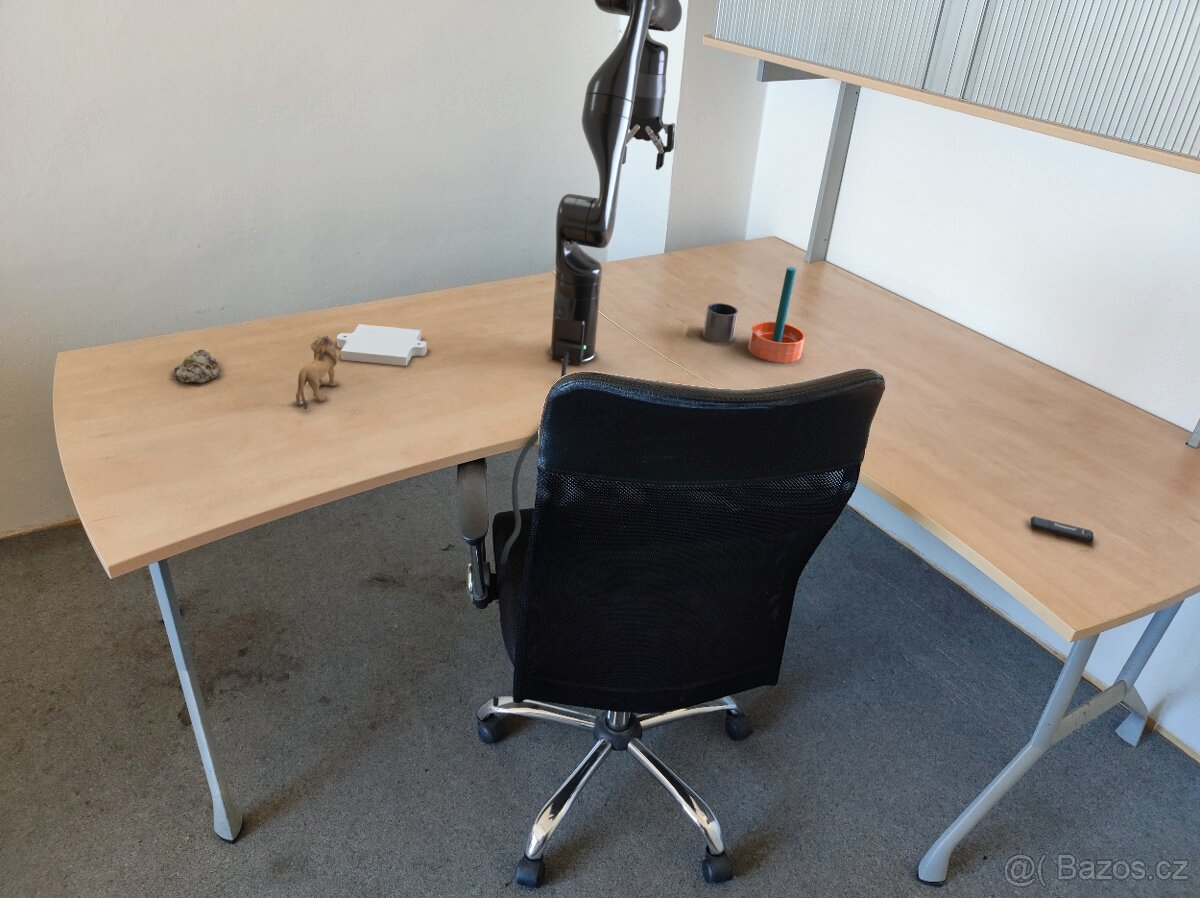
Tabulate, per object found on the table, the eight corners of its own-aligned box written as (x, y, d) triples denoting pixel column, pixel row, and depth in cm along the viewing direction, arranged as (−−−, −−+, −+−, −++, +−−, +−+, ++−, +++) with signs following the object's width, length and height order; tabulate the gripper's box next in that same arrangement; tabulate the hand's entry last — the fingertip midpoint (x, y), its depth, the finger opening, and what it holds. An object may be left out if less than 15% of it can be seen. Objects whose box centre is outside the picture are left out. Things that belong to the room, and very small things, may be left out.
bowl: (797, 369, 190) (802, 347, 187) (744, 358, 192) (748, 337, 189) (802, 347, 199) (807, 327, 197) (751, 337, 202) (755, 317, 199)
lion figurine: (314, 373, 170) (310, 330, 165) (342, 375, 170) (339, 332, 165) (291, 410, 157) (286, 365, 152) (321, 413, 157) (317, 367, 153)
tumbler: (730, 346, 196) (735, 317, 193) (700, 340, 198) (704, 311, 194) (734, 335, 202) (740, 306, 198) (705, 329, 203) (710, 301, 200)
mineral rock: (214, 375, 161) (167, 362, 159) (210, 395, 163) (164, 383, 161) (230, 351, 170) (186, 339, 168) (226, 370, 172) (183, 359, 170)
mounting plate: (328, 358, 175) (327, 349, 174) (347, 331, 186) (347, 322, 185) (419, 367, 175) (418, 358, 174) (432, 339, 186) (432, 331, 185)
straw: (778, 353, 194) (795, 271, 184) (769, 351, 195) (786, 269, 185) (779, 350, 196) (796, 268, 186) (770, 348, 196) (787, 266, 186)
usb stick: (1029, 529, 145) (1032, 521, 145) (1028, 520, 148) (1031, 513, 147) (1091, 545, 143) (1095, 537, 142) (1089, 536, 145) (1093, 528, 144)
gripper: (613, 91, 198) (607, 165, 206) (675, 100, 195) (666, 174, 204) (622, 86, 204) (615, 158, 213) (682, 95, 201) (673, 167, 210)
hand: (640, 166), depth 208 cm, fingers open, 8 cm apart
